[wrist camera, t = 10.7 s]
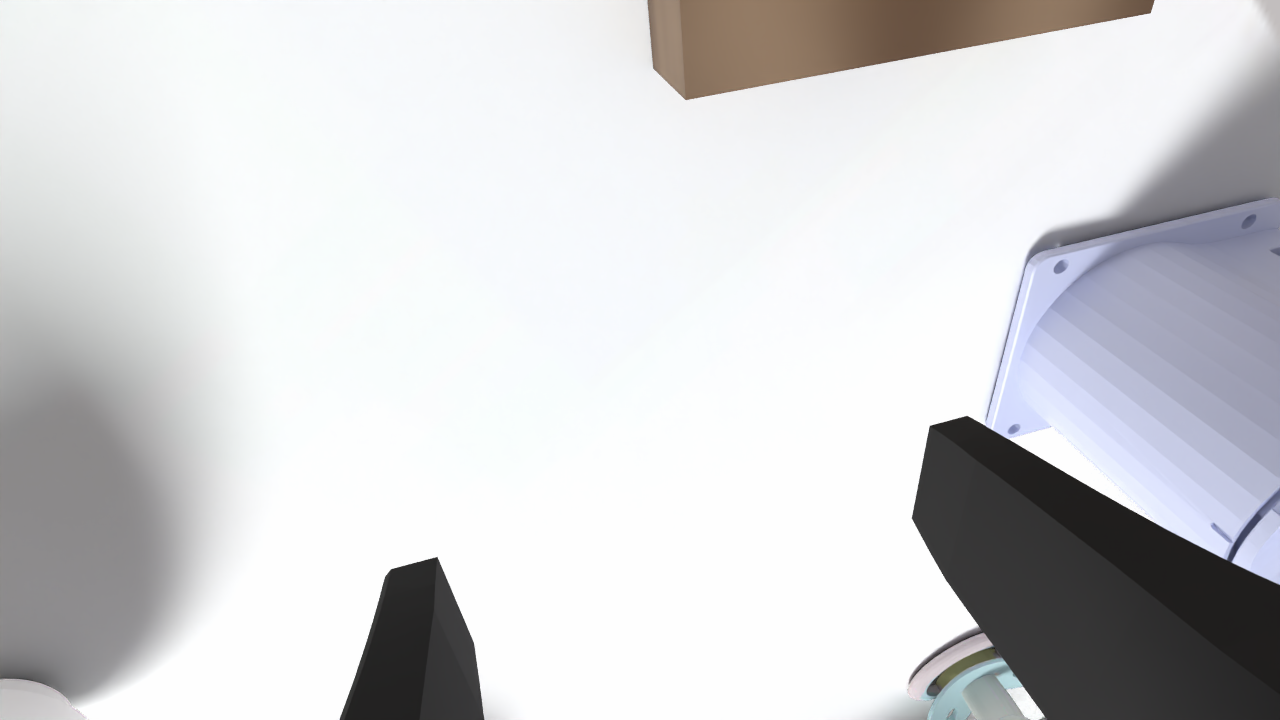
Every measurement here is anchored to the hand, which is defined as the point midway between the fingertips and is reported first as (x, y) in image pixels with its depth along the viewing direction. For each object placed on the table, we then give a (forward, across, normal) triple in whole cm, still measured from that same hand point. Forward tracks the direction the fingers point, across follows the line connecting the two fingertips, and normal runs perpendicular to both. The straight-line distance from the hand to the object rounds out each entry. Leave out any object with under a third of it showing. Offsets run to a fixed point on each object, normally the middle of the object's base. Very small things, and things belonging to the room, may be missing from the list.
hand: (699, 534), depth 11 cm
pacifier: (+11, -17, +30) cm, 36 cm away
